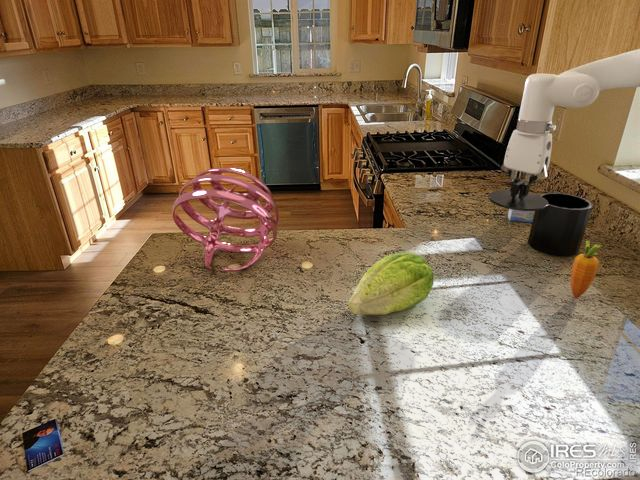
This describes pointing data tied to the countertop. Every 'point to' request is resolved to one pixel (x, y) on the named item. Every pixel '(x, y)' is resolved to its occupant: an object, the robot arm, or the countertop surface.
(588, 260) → the carrot
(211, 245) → the pink openwork sphere
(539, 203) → the bin lid
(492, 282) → the countertop surface
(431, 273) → the lettuce
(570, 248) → the trash can
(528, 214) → the medicine box
